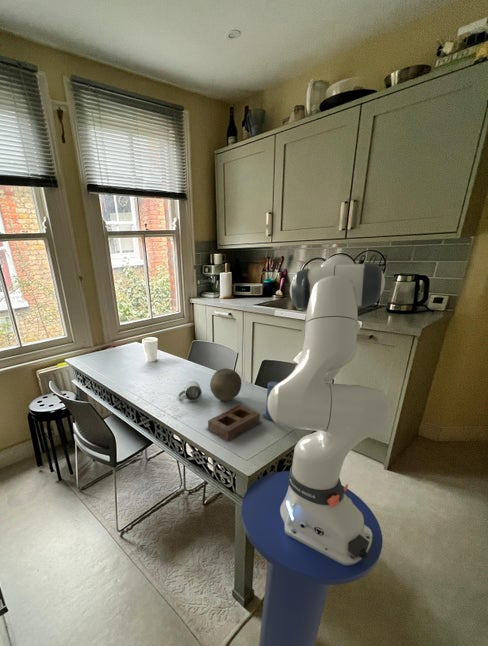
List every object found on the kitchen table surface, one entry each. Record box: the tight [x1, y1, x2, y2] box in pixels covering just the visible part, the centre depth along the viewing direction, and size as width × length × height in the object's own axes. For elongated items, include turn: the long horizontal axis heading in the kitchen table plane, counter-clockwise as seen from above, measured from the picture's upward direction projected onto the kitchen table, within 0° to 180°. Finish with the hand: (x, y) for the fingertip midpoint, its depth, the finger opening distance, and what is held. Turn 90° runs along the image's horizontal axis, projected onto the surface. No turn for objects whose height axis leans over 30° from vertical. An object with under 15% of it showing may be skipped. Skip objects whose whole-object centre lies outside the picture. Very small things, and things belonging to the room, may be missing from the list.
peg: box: [264, 381, 279, 421], centre depth 126 cm, size 4×4×15 cm
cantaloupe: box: [209, 367, 242, 402], centre depth 140 cm, size 14×14×15 cm
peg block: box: [207, 404, 261, 442], centre depth 123 cm, size 10×18×4 cm, turn 130°
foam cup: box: [141, 336, 159, 363], centre depth 192 cm, size 10×9×13 cm
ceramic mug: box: [177, 380, 203, 402], centre depth 145 cm, size 11×8×8 cm
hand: (301, 380), depth 126 cm, fingers open, 8 cm apart
